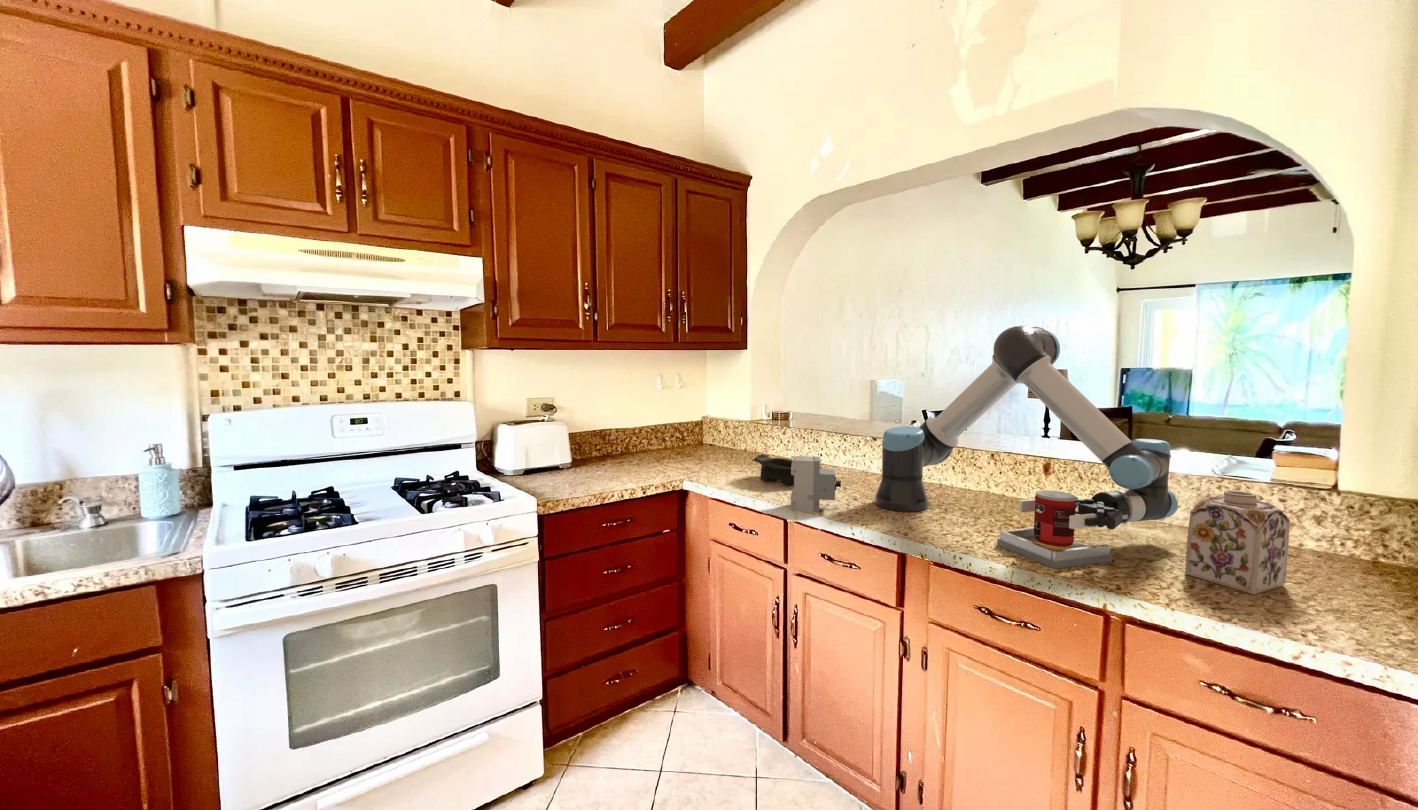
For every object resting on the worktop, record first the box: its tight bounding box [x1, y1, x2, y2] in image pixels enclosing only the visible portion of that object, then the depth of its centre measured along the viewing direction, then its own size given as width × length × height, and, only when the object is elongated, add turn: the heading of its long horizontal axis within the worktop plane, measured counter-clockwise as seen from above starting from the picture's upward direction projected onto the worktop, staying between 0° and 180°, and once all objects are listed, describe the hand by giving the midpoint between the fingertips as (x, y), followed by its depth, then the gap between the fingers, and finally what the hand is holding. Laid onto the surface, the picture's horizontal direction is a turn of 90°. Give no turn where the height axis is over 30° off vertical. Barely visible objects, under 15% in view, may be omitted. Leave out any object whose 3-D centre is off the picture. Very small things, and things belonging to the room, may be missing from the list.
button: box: [1035, 540, 1071, 550], centre depth 130 cm, size 7×7×2 cm
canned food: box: [1033, 489, 1077, 547], centre depth 129 cm, size 8×8×11 cm
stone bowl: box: [751, 454, 823, 487], centre depth 206 cm, size 25×25×9 cm
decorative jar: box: [1184, 490, 1291, 595], centre depth 114 cm, size 12×12×18 cm
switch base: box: [996, 526, 1113, 570], centre depth 130 cm, size 16×16×4 cm
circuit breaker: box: [790, 455, 842, 513], centre depth 168 cm, size 8×14×15 cm, turn 78°
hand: (1044, 513), depth 129 cm, fingers open, 13 cm apart
